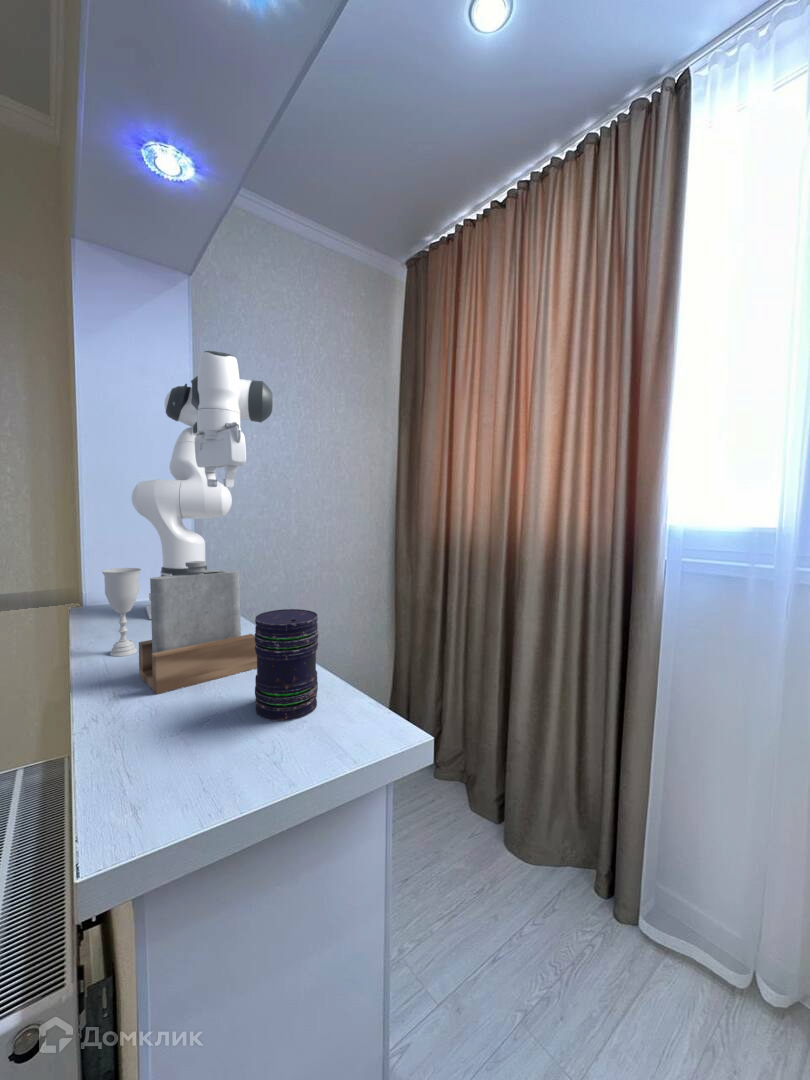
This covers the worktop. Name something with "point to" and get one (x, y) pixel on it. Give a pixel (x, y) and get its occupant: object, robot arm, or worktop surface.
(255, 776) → the worktop surface
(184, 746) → the worktop surface
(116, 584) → the chalice
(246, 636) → the u rest
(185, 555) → the robot arm
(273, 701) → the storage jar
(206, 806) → the worktop surface
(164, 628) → the hip flask
